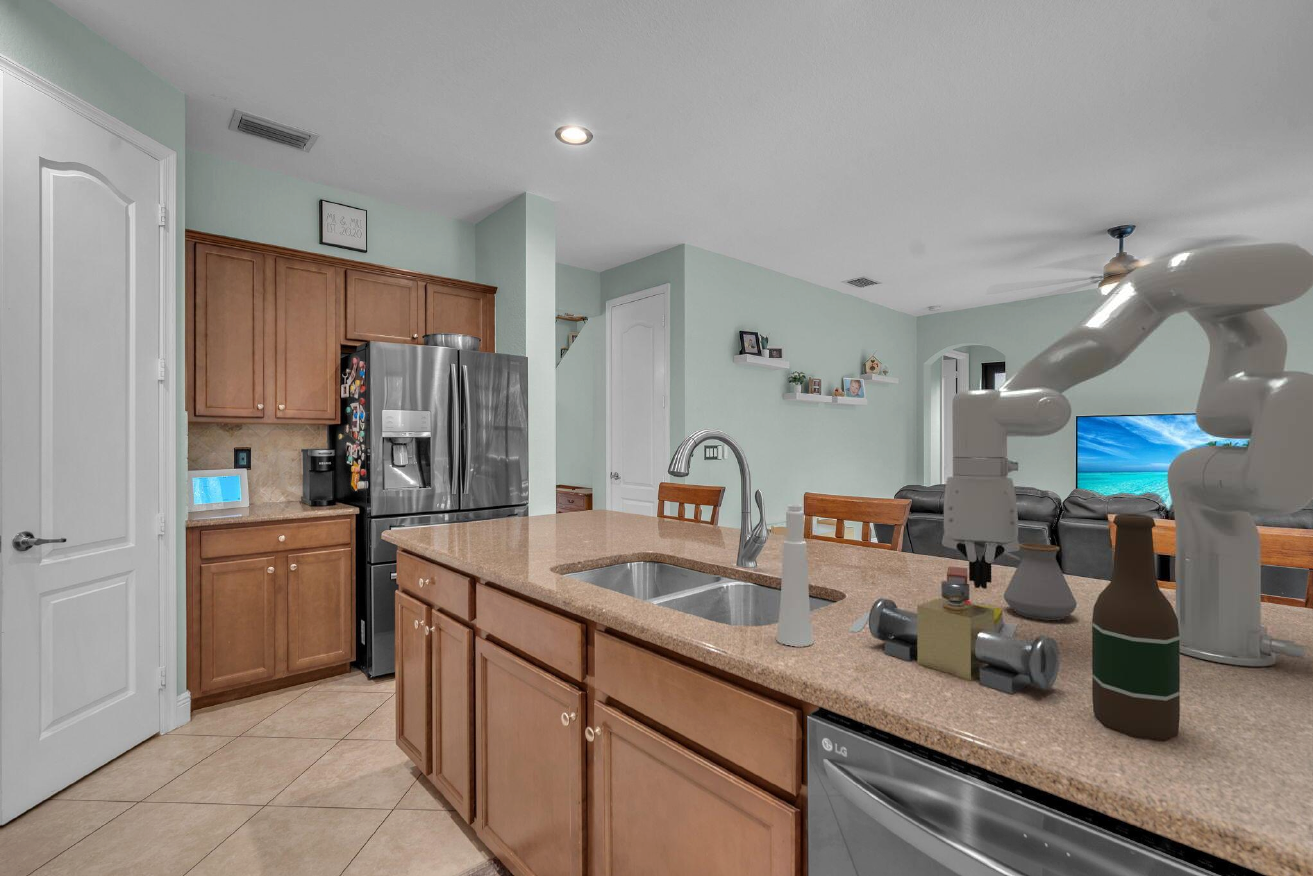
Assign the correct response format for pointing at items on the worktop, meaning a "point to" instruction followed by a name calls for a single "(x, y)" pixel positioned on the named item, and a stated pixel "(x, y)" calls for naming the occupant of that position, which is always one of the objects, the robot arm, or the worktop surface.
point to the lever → (956, 584)
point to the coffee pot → (1038, 584)
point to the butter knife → (859, 623)
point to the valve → (964, 644)
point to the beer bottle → (1135, 641)
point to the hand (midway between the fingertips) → (980, 586)
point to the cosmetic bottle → (794, 585)
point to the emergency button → (999, 621)
